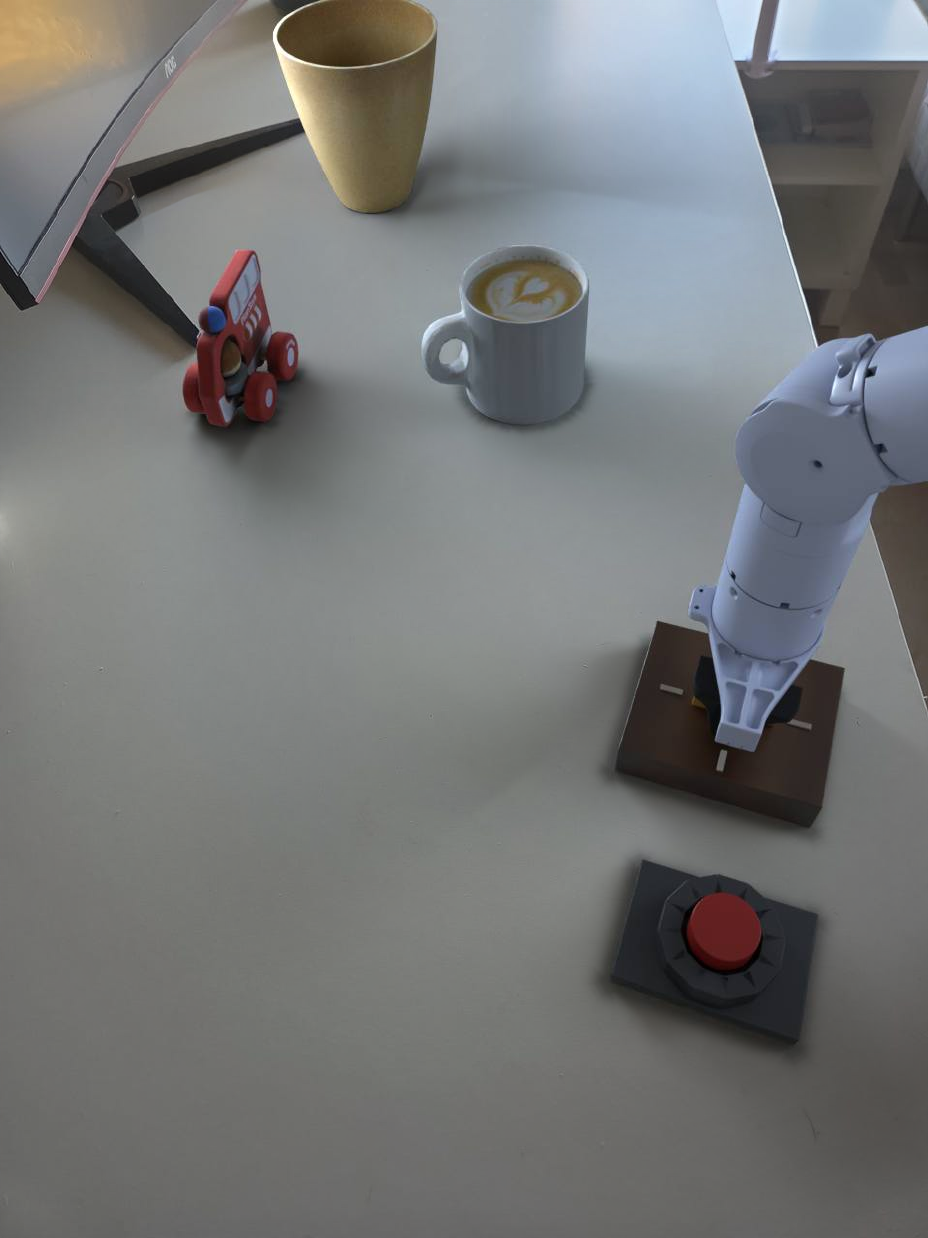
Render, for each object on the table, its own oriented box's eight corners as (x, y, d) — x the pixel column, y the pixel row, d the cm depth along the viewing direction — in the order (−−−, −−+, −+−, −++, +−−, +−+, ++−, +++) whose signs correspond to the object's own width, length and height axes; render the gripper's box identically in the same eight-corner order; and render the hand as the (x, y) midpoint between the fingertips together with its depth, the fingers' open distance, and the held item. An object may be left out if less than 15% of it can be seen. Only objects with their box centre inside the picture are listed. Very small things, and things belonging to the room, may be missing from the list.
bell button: (760, 916, 52) (767, 905, 51) (748, 980, 50) (754, 971, 49) (694, 894, 53) (698, 883, 51) (679, 957, 51) (684, 948, 50)
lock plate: (832, 692, 63) (846, 666, 60) (810, 828, 57) (823, 806, 55) (651, 645, 66) (657, 618, 63) (614, 771, 60) (618, 747, 58)
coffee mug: (572, 340, 85) (577, 237, 76) (593, 417, 79) (600, 315, 71) (421, 357, 84) (410, 256, 76) (431, 436, 79) (420, 335, 70)
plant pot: (360, 253, 94) (334, 84, 81) (278, 192, 101) (242, 27, 88) (477, 194, 99) (470, 25, 86) (391, 140, 106) (373, -23, 93)
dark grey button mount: (813, 921, 54) (827, 903, 52) (794, 1046, 51) (808, 1033, 48) (639, 866, 57) (645, 846, 54) (609, 982, 53) (613, 966, 50)
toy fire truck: (181, 436, 80) (140, 334, 72) (236, 341, 87) (205, 237, 78) (259, 447, 79) (227, 344, 70) (309, 350, 86) (285, 246, 77)
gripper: (731, 447, 52) (695, 596, 63) (671, 659, 45) (642, 787, 56) (865, 475, 51) (804, 623, 62) (827, 700, 43) (765, 823, 54)
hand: (735, 703), depth 59 cm, fingers open, 4 cm apart
